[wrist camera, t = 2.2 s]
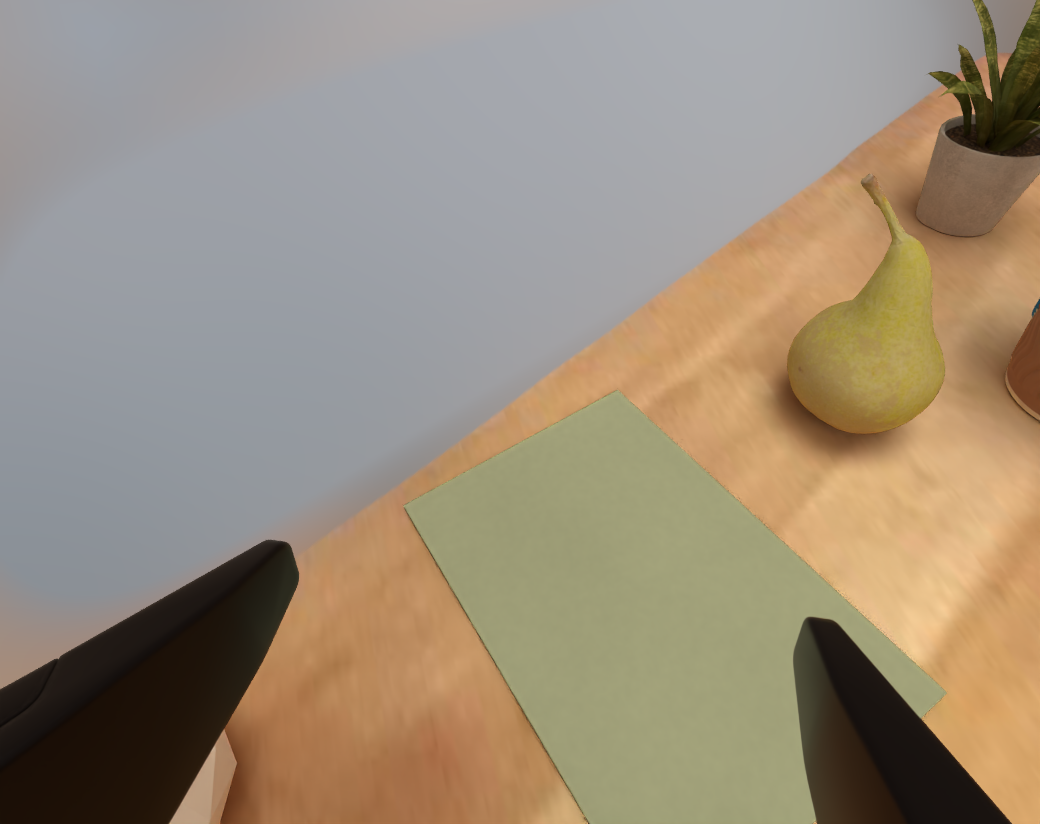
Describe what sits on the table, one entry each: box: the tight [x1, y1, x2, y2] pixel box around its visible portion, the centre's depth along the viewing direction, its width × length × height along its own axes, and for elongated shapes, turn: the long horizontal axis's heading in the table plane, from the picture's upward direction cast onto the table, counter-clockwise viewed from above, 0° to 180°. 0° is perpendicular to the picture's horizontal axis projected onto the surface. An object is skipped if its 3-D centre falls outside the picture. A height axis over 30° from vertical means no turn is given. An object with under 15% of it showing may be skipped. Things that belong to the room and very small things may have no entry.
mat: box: [404, 390, 947, 824], centre depth 26 cm, size 20×14×1 cm
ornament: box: [169, 730, 237, 824], centre depth 19 cm, size 7×7×8 cm
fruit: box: [787, 174, 945, 434], centre depth 28 cm, size 7×8×12 cm
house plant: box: [916, 0, 1040, 237], centre depth 37 cm, size 14×14×16 cm
